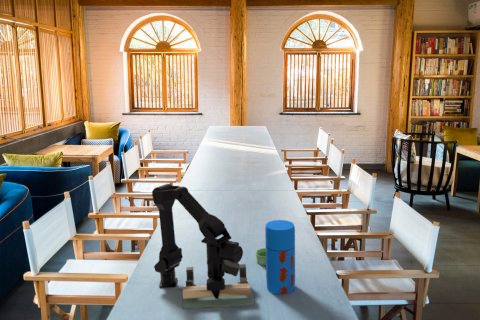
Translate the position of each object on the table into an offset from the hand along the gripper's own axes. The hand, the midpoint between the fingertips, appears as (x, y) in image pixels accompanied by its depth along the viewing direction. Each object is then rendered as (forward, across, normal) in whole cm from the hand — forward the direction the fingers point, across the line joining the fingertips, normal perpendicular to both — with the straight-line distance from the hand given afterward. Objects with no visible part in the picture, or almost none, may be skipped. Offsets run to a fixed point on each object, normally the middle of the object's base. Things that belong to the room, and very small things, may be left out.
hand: (216, 296), depth 162 cm
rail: (0, 0, 0) cm, 1 cm away
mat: (+2, 0, 0) cm, 2 cm away
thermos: (+2, +7, -24) cm, 25 cm away
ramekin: (+2, +30, -21) cm, 37 cm away
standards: (+2, +8, 0) cm, 8 cm away
